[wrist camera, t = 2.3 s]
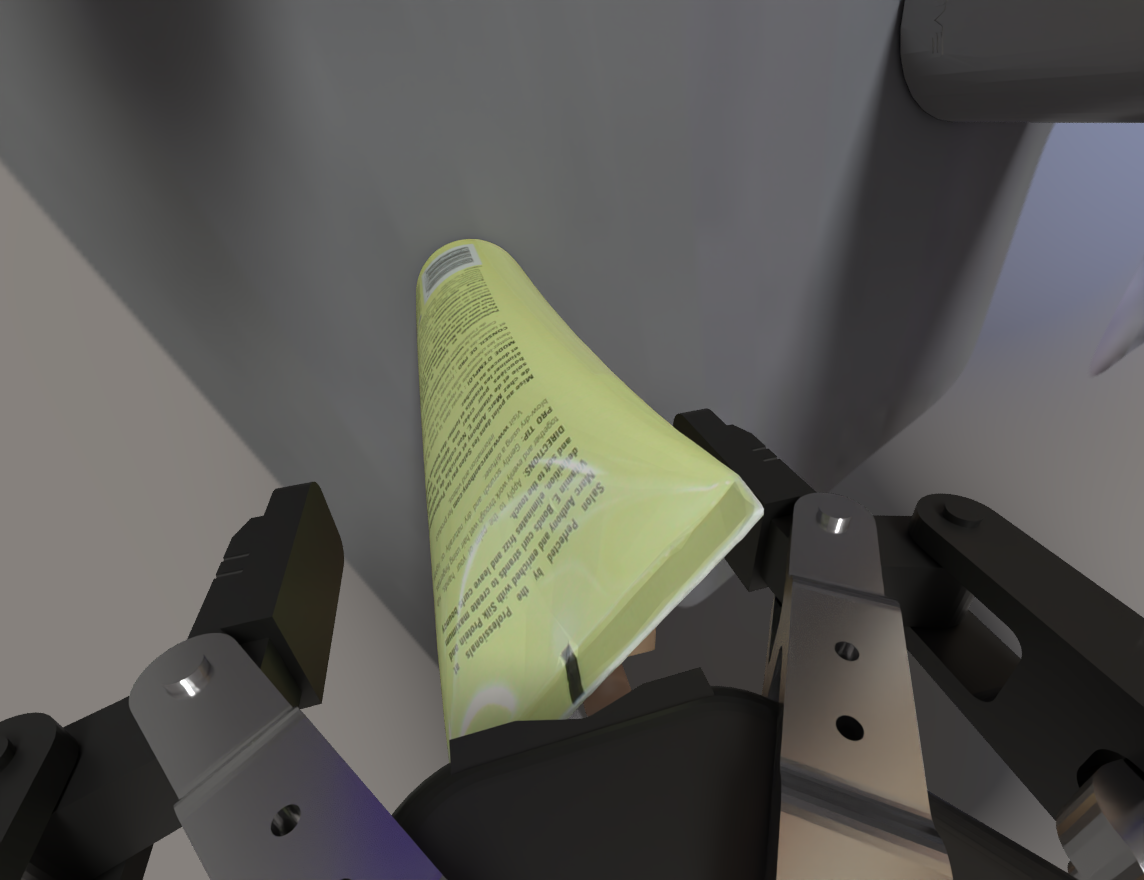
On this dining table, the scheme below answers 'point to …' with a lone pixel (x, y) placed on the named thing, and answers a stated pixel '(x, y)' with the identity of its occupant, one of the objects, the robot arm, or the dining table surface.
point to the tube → (547, 498)
